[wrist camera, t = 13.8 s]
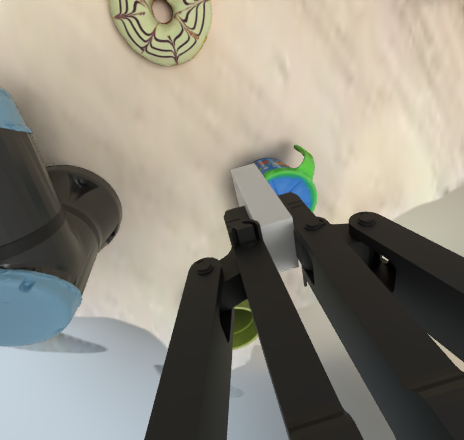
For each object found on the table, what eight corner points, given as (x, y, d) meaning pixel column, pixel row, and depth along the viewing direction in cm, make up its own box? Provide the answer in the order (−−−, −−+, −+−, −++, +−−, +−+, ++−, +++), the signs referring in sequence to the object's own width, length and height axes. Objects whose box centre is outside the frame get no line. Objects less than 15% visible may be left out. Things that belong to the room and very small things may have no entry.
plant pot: (184, 279, 59) (186, 324, 49) (237, 256, 58) (250, 297, 49) (208, 313, 65) (214, 359, 56) (256, 293, 64) (271, 336, 55)
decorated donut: (138, -76, 32) (134, -91, 29) (225, -2, 37) (231, -7, 33) (99, 25, 36) (91, 23, 33) (182, 81, 41) (183, 84, 37)
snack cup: (255, 224, 55) (270, 257, 46) (213, 194, 50) (221, 224, 42) (315, 161, 50) (344, 185, 42) (275, 122, 46) (298, 139, 37)
